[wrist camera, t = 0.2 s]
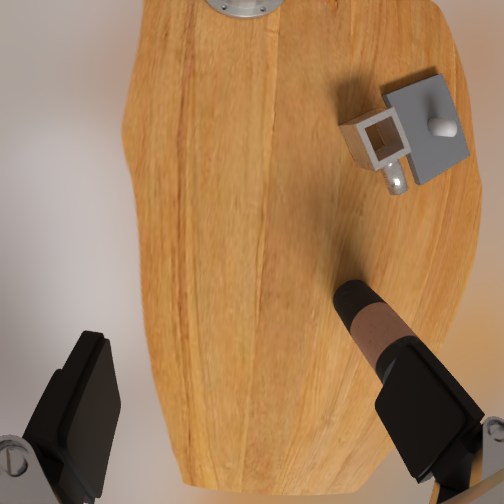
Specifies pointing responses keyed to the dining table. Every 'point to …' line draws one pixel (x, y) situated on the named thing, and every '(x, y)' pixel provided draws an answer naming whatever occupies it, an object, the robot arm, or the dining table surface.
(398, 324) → the travel mug
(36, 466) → the robot arm
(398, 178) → the grey hollow block
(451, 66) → the dining table surface
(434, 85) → the plate
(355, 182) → the dining table surface
